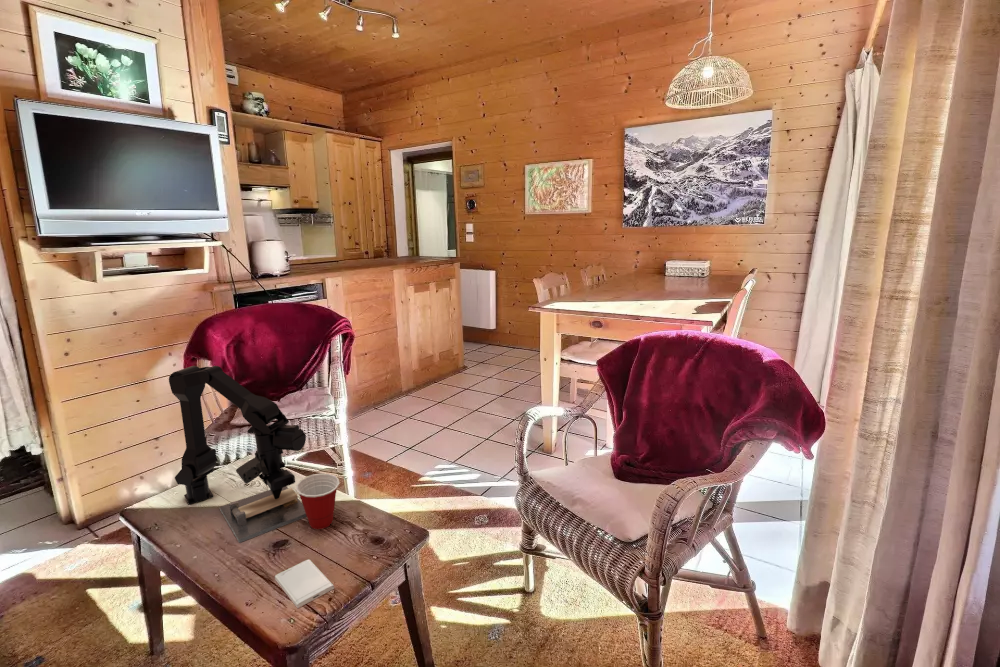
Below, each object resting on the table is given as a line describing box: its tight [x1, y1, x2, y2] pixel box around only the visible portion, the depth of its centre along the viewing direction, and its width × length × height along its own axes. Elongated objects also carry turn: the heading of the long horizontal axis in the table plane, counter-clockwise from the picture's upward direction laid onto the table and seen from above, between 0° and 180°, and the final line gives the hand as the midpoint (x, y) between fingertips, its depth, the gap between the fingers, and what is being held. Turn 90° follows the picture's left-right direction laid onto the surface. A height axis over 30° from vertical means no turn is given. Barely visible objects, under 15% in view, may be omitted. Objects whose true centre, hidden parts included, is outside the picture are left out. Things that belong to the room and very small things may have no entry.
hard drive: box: [274, 559, 335, 609], centre depth 112 cm, size 2×8×12 cm
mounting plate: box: [219, 486, 307, 544], centre depth 139 cm, size 20×18×4 cm
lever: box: [232, 487, 299, 520], centre depth 140 cm, size 5×16×2 cm, turn 131°
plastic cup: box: [295, 472, 340, 530], centre depth 133 cm, size 11×11×12 cm
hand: (276, 498), depth 141 cm, fingers closed, pressing on lever
